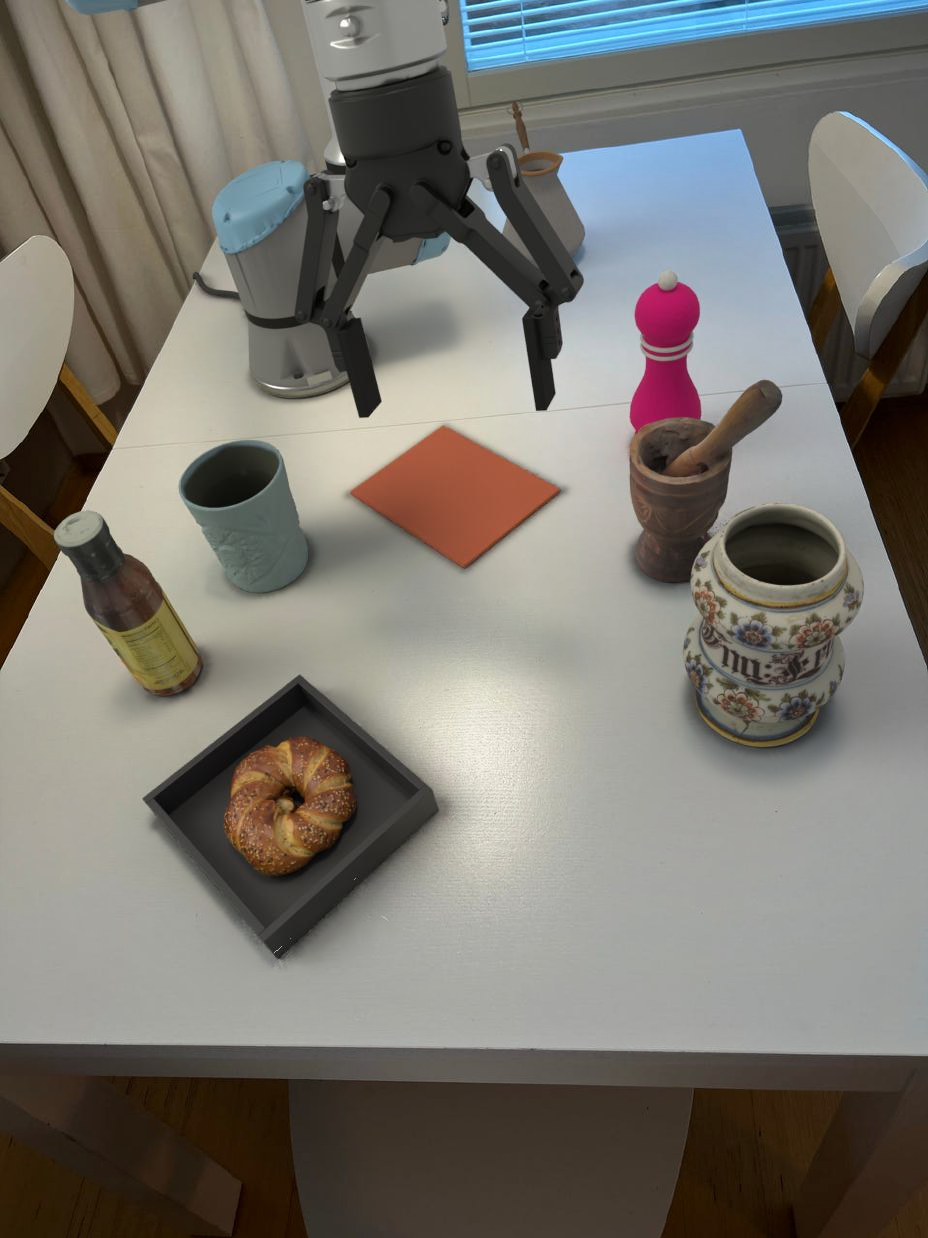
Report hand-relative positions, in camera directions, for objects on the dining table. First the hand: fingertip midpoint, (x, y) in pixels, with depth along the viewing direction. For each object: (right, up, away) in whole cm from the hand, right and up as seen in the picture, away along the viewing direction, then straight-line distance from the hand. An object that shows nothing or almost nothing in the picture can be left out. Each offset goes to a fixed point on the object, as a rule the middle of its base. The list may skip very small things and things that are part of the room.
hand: (455, 406), depth 68 cm
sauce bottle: (-27, -21, +21) cm, 40 cm away
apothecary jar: (+25, -22, +10) cm, 35 cm away
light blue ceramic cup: (-20, -9, +29) cm, 36 cm away
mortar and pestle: (+22, -9, +21) cm, 32 cm away
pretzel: (-13, -31, +9) cm, 35 cm away
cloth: (-1, -2, +32) cm, 32 cm away
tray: (-13, -31, +9) cm, 35 cm away
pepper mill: (+22, +3, +32) cm, 39 cm away
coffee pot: (+11, +38, +64) cm, 76 cm away
